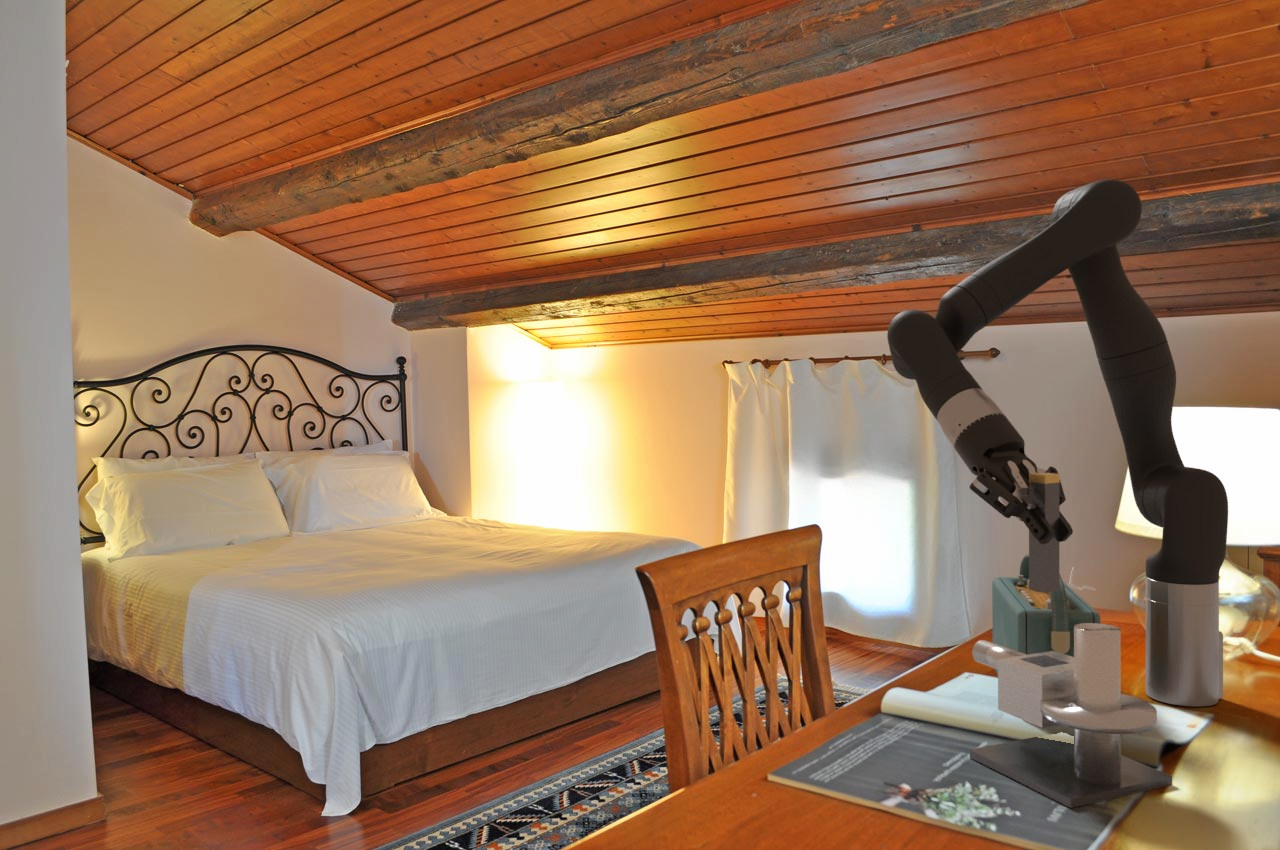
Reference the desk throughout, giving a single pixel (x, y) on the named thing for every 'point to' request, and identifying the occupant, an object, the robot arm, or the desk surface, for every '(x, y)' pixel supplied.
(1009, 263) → the robot arm
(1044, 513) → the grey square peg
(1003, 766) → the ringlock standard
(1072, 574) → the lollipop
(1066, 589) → the radio
